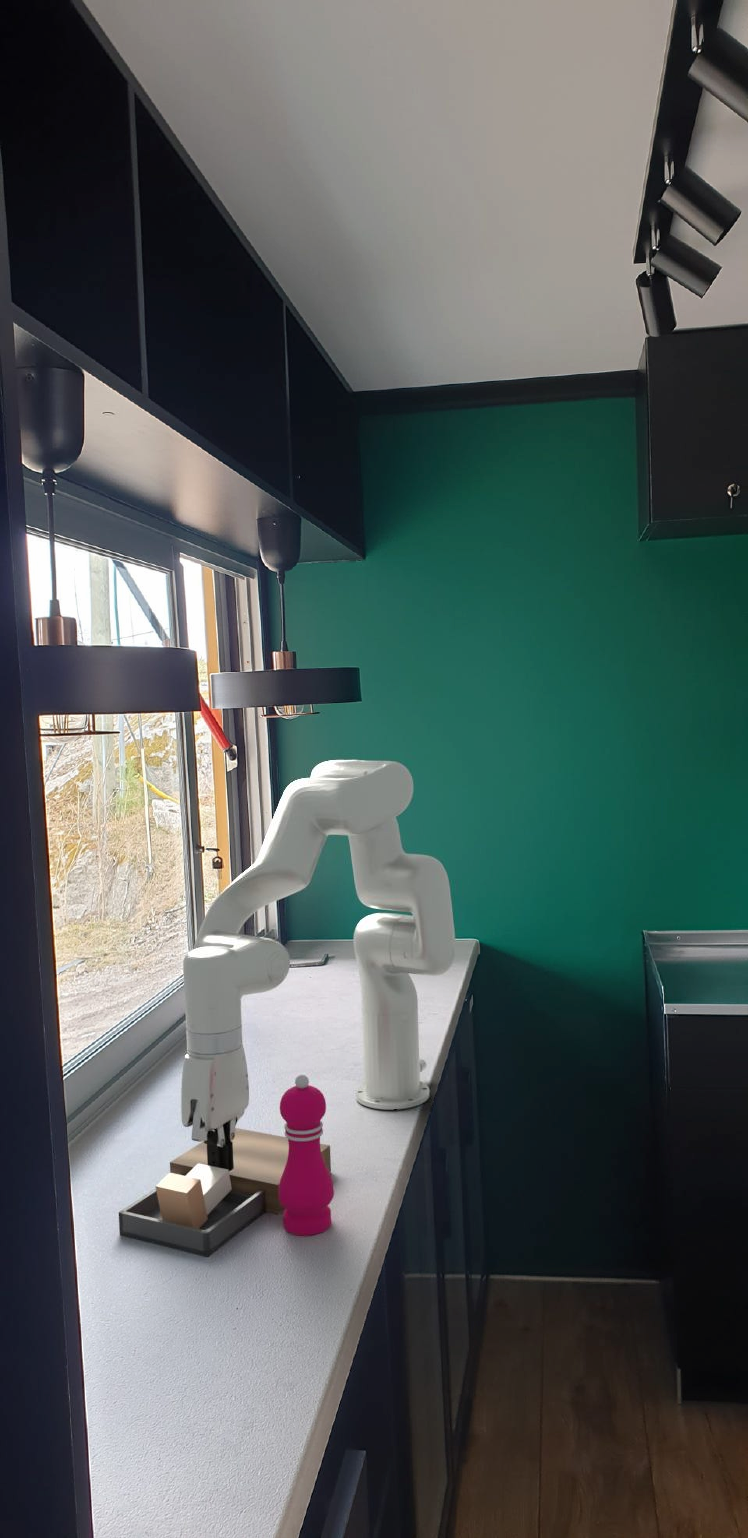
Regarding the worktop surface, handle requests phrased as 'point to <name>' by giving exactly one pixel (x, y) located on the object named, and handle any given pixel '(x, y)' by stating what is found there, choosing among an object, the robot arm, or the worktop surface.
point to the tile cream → (212, 1183)
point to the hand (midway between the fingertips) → (220, 1169)
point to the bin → (214, 1233)
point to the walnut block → (251, 1164)
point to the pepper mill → (305, 1162)
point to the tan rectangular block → (181, 1200)
